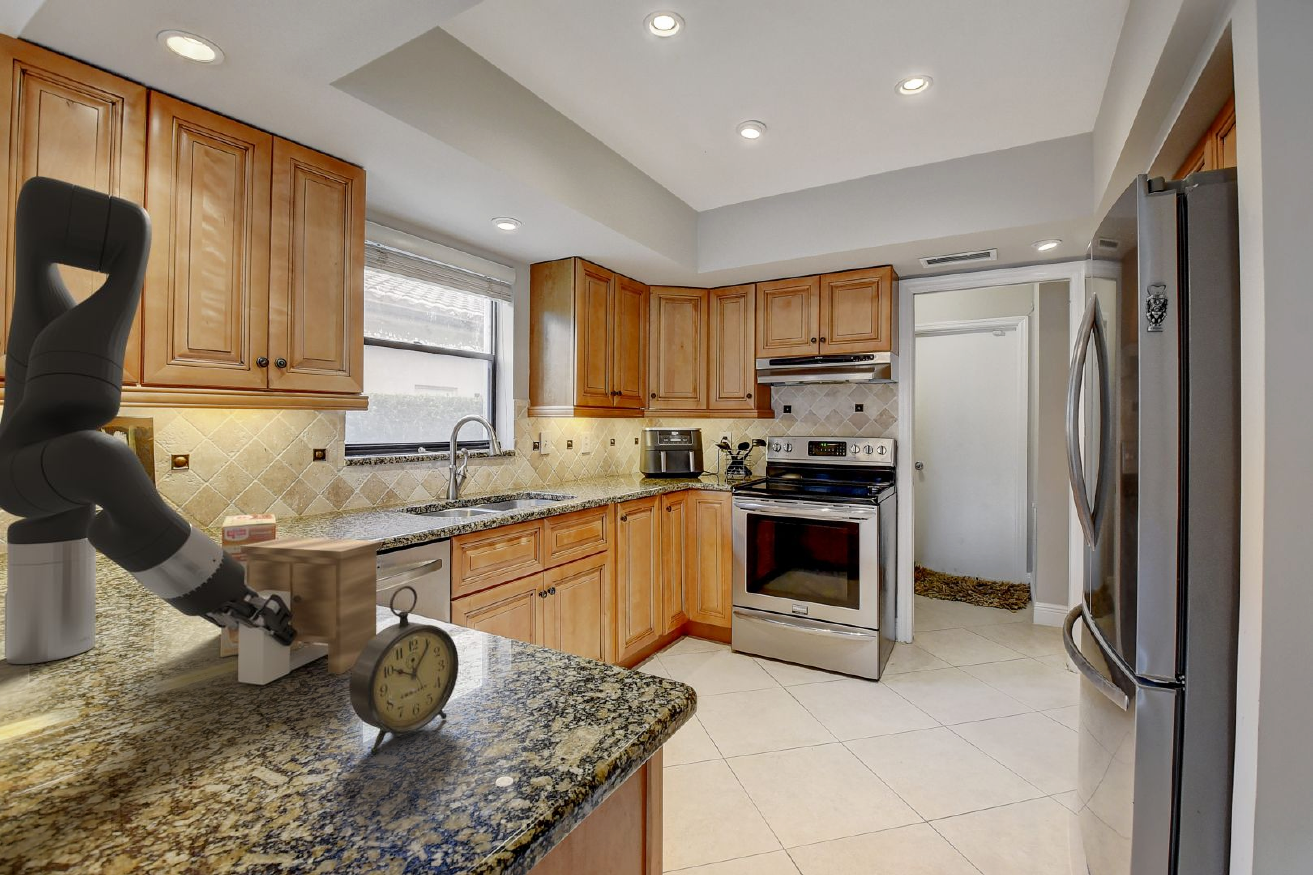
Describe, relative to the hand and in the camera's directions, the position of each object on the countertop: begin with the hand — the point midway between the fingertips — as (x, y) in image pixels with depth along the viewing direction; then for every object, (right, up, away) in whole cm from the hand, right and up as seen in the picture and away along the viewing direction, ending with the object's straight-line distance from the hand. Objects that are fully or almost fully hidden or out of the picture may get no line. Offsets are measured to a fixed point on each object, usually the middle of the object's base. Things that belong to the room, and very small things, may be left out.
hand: (277, 637), depth 79 cm
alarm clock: (+24, -5, -15) cm, 29 cm away
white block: (+1, -5, +3) cm, 6 cm away
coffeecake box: (-14, -5, +14) cm, 21 cm away
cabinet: (+1, -5, +6) cm, 8 cm away
